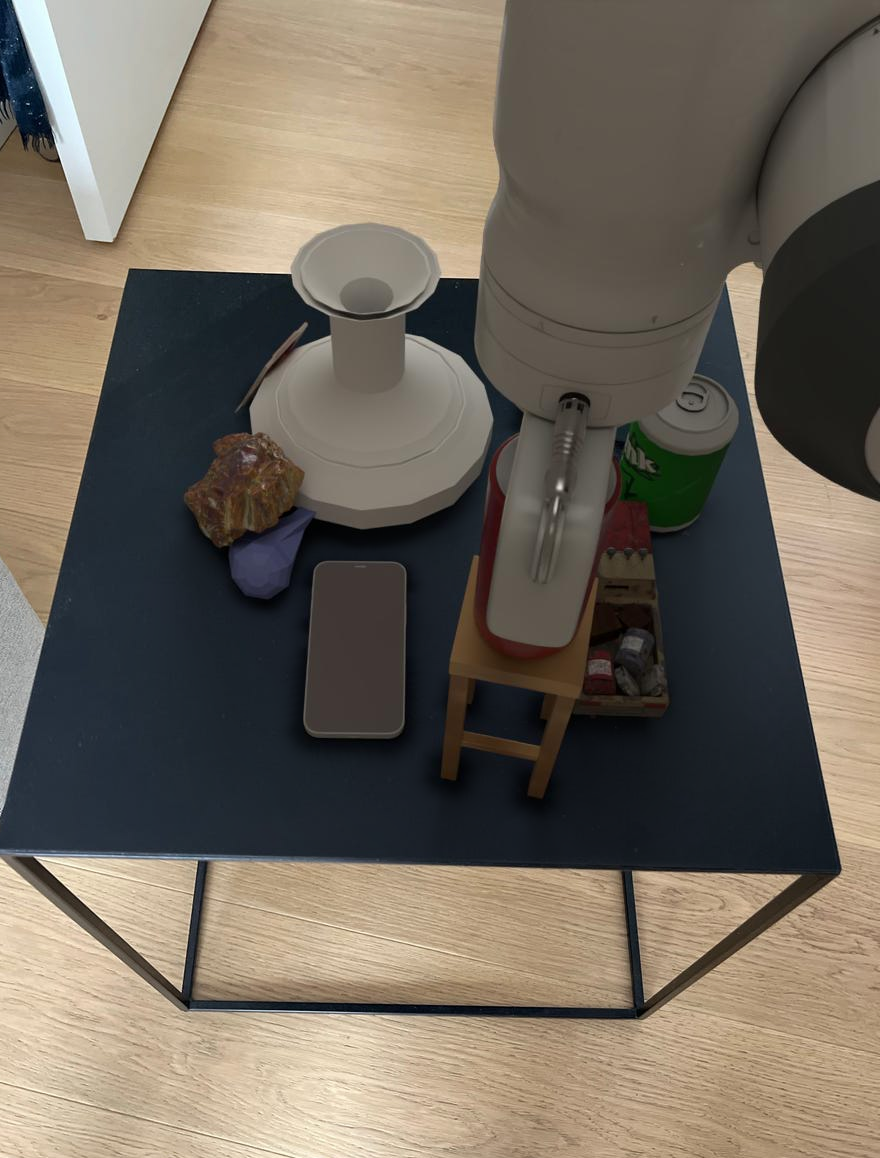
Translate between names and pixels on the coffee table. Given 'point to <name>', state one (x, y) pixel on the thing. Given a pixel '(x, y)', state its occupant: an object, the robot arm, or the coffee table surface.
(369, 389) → the candle holder
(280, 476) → the mineral specimen
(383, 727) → the smartphone
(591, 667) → the toy vehicle
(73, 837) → the coffee table surface
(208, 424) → the coffee table surface
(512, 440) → the red canister
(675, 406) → the soda can
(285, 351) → the decorative emblem
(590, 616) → the stool
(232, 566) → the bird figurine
